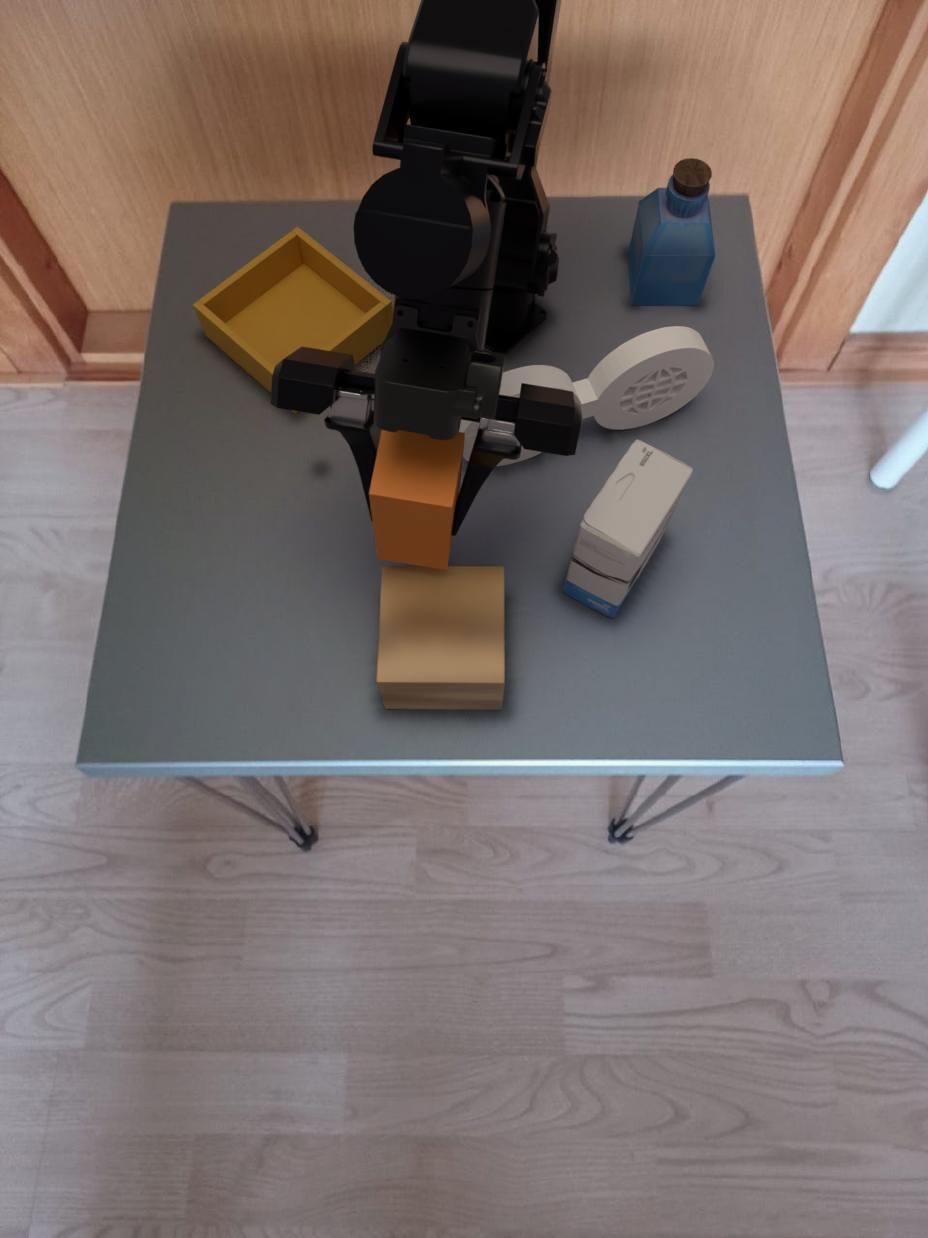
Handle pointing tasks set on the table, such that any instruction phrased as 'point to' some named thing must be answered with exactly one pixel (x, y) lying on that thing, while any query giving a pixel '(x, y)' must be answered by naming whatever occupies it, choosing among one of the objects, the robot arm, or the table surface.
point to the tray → (293, 308)
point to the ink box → (624, 527)
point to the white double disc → (622, 382)
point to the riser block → (442, 638)
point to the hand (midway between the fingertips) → (414, 527)
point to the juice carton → (415, 497)
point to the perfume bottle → (673, 240)
